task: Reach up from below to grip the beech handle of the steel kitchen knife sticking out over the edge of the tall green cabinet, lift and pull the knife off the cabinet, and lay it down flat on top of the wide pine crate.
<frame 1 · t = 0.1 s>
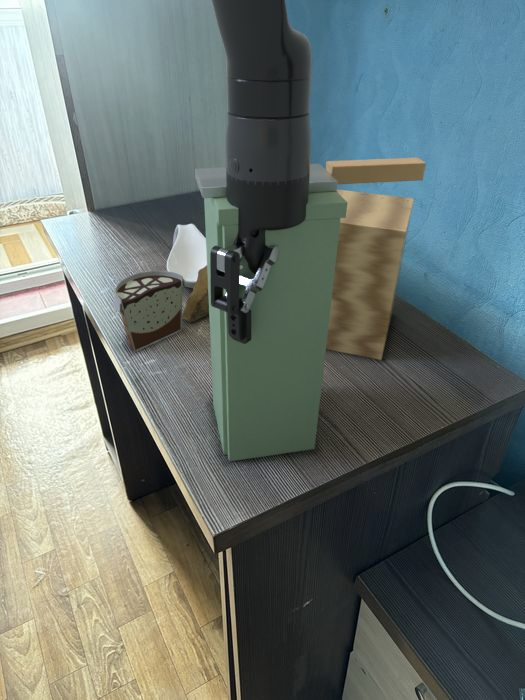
hand: (266, 323, 55), 19 cm above the table, tool pointing down, fingers open, 8 cm apart
mint chocolate cake slice: (148, 334, 87), on the table
knife: (327, 181, 52), point 32 cm above the table, touching tall green cabinet
tall green cabinet: (262, 422, 70), on the table
crate: (339, 328, 89), on the table
spoon rest: (192, 270, 106), on the table
rock: (206, 310, 94), on the table
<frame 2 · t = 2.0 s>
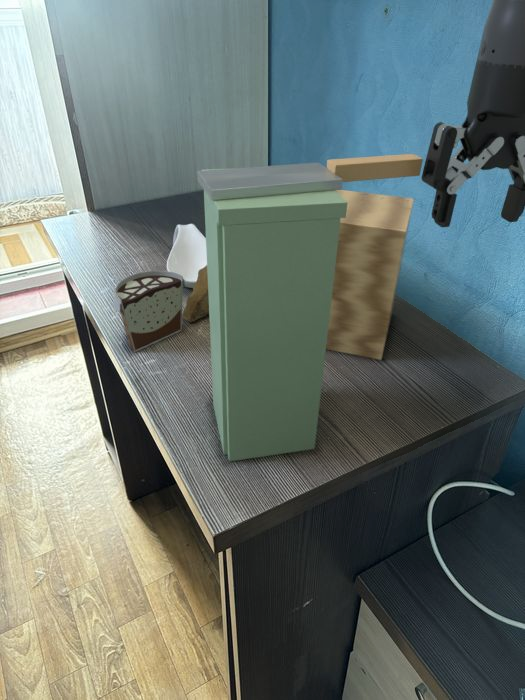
hand: (475, 222, 58), 27 cm above the table, tool pointing down, fingers open, 8 cm apart
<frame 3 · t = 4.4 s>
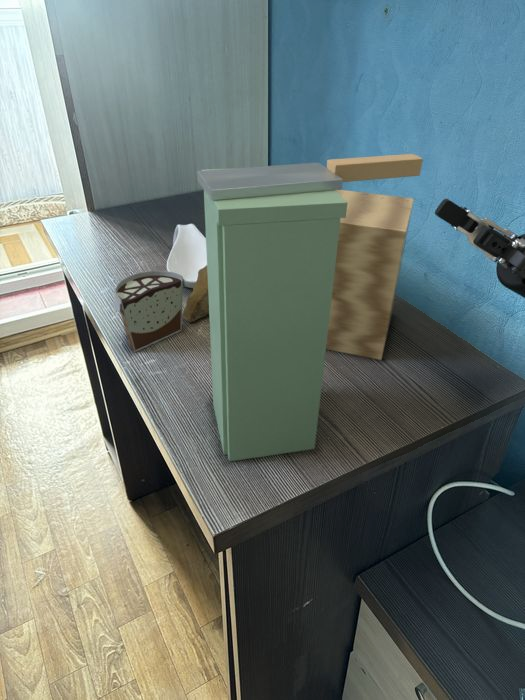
hand: (459, 219, 58), 27 cm above the table, tool pointing upward, fingers open, 8 cm apart
nothing on the table moved.
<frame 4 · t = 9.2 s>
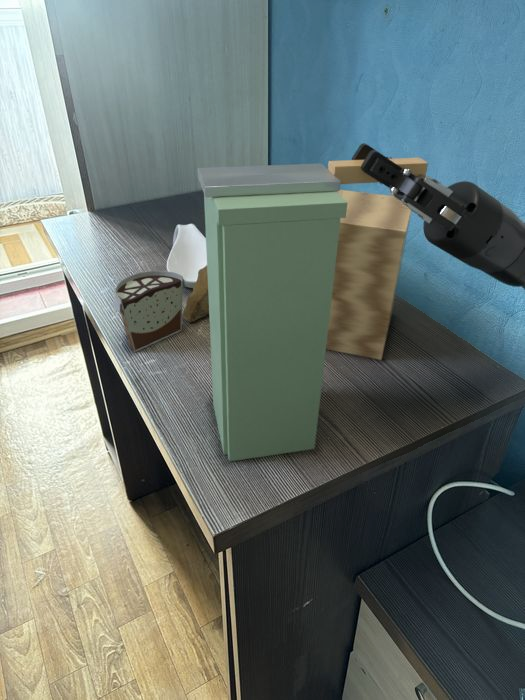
hand: (362, 156, 52), 34 cm above the table, tool pointing upward, fingers closed on knife, 2 cm apart
knife: (329, 181, 52), point 32 cm above the table, touching gripper, tall green cabinet
everything else where it was.
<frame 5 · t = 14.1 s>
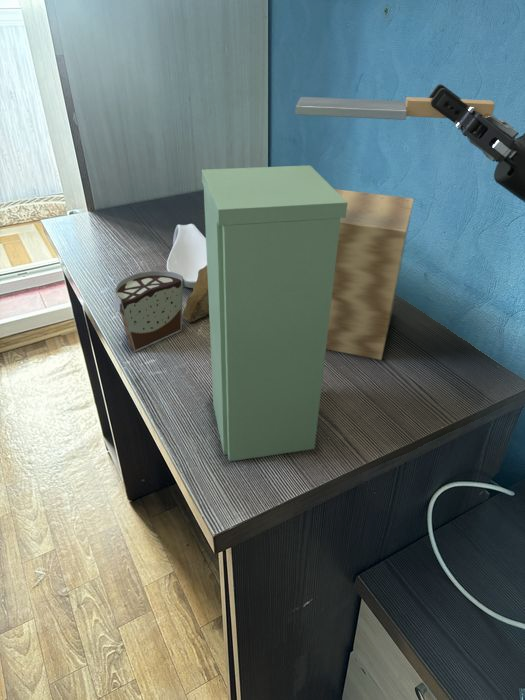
hand: (435, 93, 61), 38 cm above the table, tool pointing upward, fingers closed on knife
knife: (404, 114, 63), point 36 cm above the table, touching gripper
everything else where it was.
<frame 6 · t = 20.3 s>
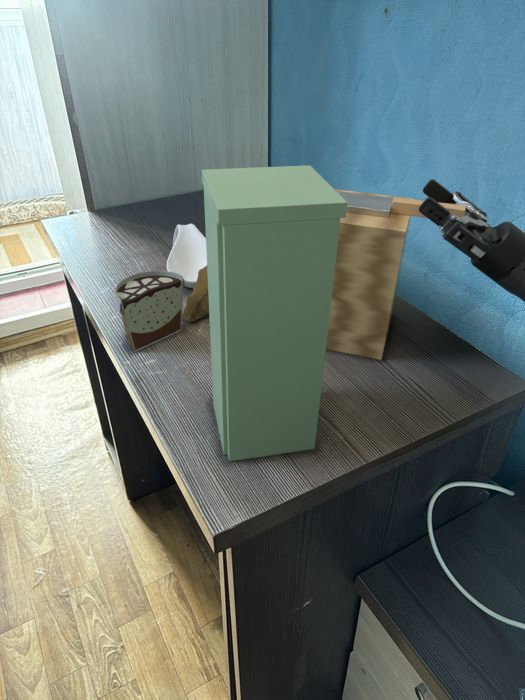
hand: (424, 193, 73), 25 cm above the table, tool pointing upward, fingers open, 8 cm apart
knife: (391, 211, 76), point 21 cm above the table, touching crate
everything else where it was.
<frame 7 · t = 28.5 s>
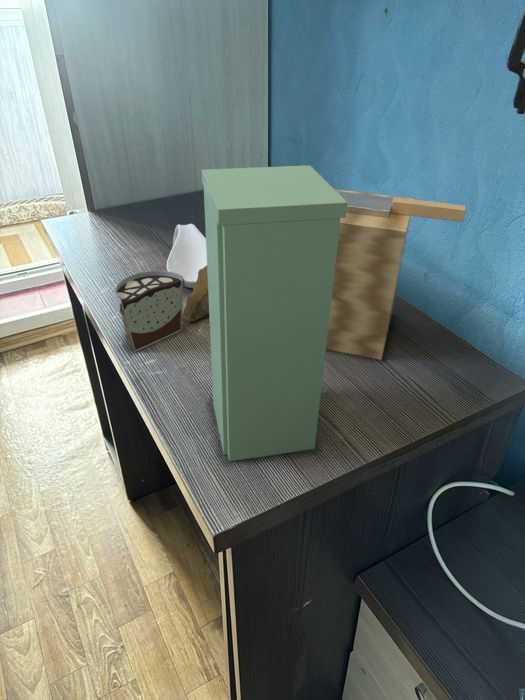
nothing on the table moved.
at the end: knife inside the target area on the crate (5.2 cm from its centre), point 21.5 cm above the crate's base; the gripper is holding nothing; knife tilted 0° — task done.
